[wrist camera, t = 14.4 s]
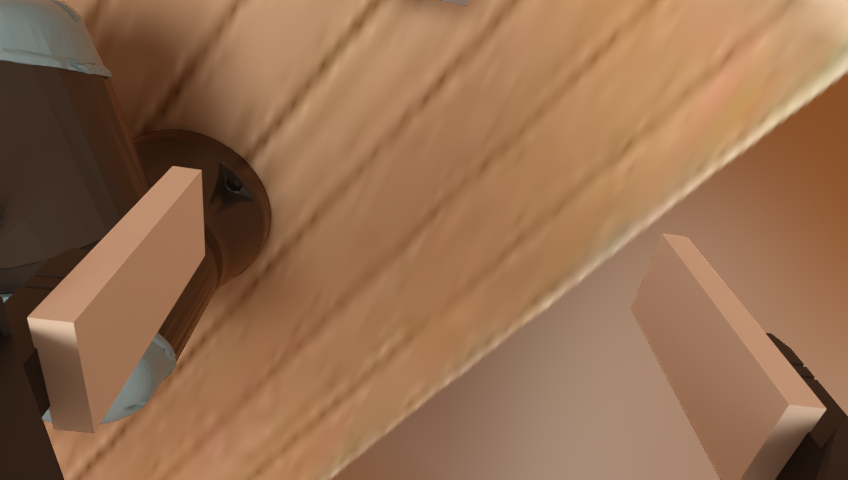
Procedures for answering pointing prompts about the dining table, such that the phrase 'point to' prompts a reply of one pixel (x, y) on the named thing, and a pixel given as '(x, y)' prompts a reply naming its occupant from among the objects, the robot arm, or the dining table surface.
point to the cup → (458, 2)
